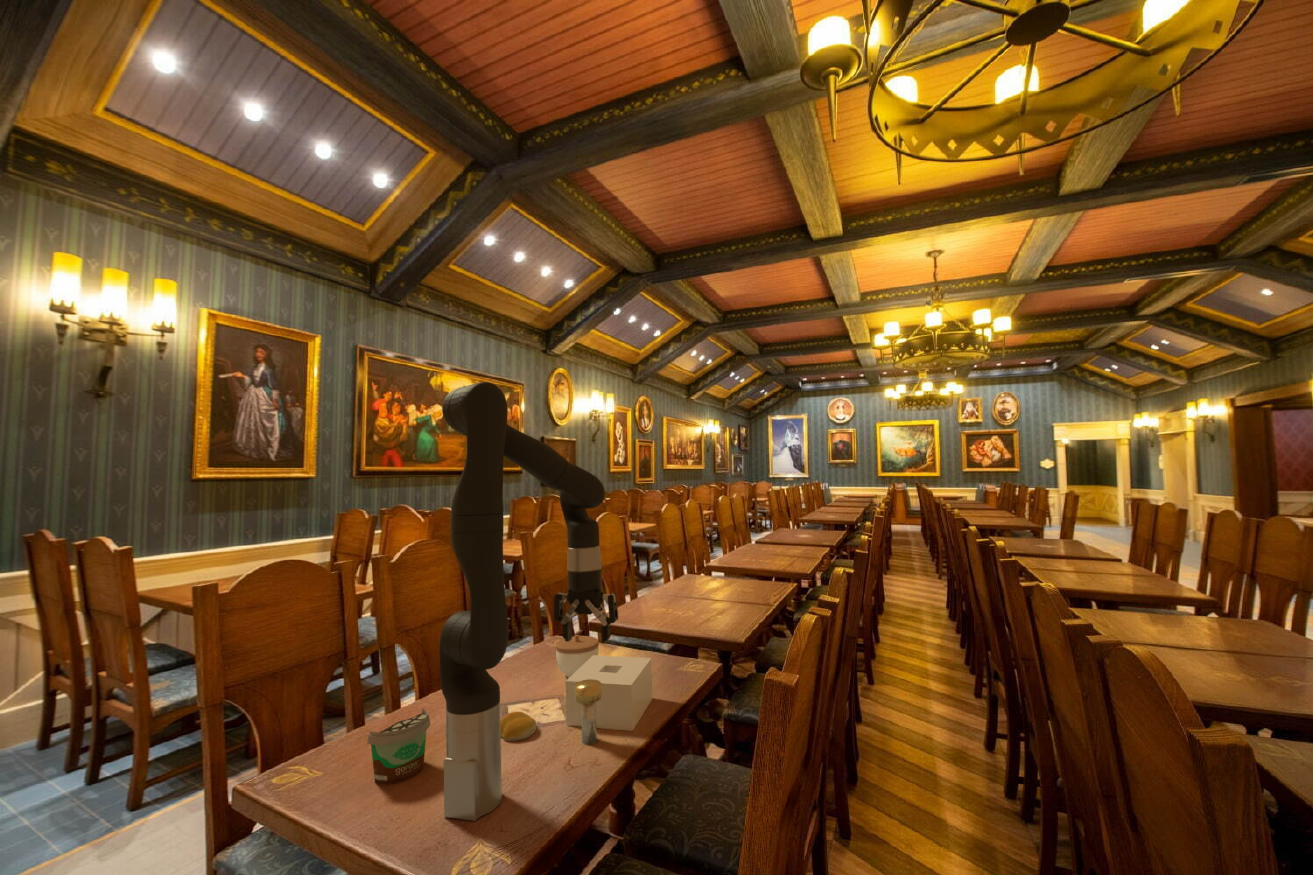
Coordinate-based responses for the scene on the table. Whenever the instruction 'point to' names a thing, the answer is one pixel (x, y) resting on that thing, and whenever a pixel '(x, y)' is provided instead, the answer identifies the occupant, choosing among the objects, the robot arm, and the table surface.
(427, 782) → the table surface
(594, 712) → the brass-head pin
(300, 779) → the table surface
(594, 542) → the robot arm
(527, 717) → the bread roll
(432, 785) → the table surface
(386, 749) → the food container
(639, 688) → the pin block
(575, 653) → the lidded bowl
